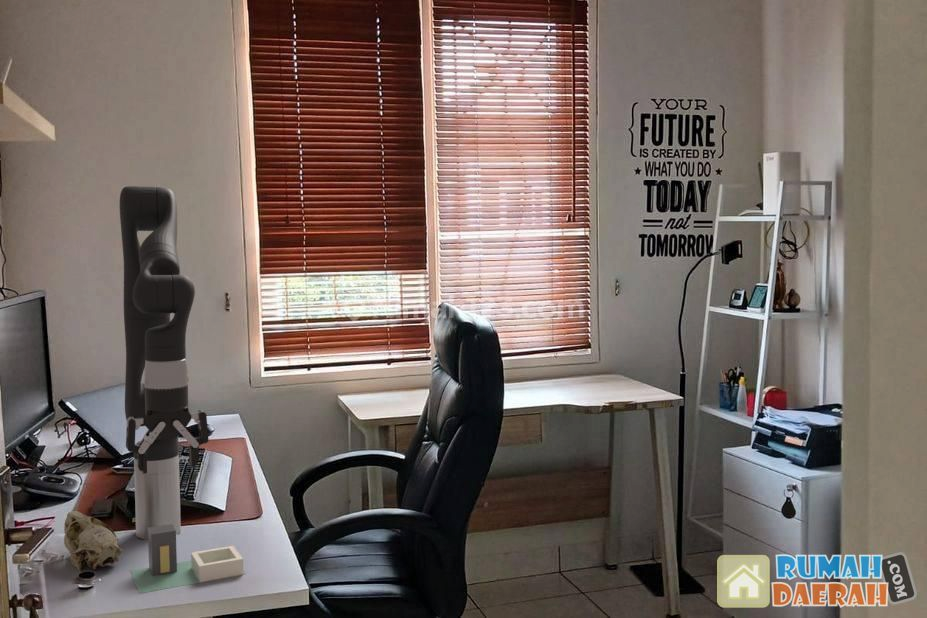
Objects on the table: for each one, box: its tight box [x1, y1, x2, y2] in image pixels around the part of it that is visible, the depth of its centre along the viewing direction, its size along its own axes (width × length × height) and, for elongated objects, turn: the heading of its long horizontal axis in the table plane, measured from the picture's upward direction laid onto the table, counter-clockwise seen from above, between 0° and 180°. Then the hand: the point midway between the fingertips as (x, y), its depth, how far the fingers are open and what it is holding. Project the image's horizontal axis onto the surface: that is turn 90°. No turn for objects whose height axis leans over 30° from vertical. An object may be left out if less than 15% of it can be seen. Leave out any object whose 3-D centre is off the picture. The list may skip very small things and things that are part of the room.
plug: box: [147, 524, 178, 576], centre depth 161 cm, size 5×4×8 cm
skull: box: [63, 510, 124, 572], centre depth 166 cm, size 10×16×10 cm, turn 50°
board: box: [130, 560, 247, 595], centre depth 160 cm, size 12×19×1 cm, turn 118°
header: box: [190, 545, 244, 583], centre depth 161 cm, size 8×8×3 cm
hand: (168, 469), depth 157 cm, fingers open, 8 cm apart
